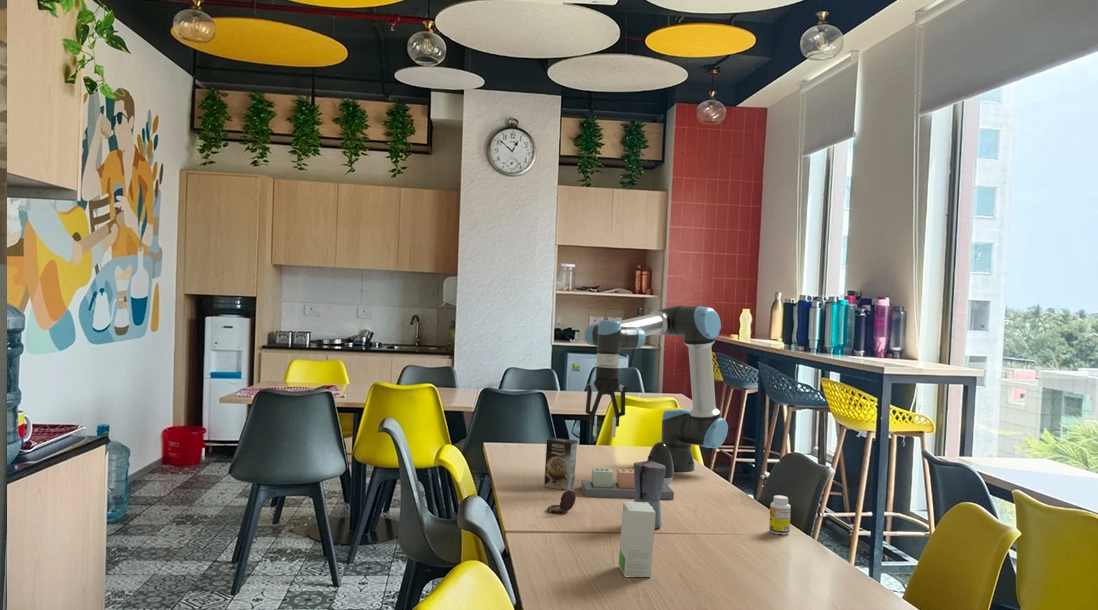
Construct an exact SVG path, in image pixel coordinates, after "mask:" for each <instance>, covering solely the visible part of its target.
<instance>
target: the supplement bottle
mask: <svg viewBox="0 0 1098 610" xmlns="http://www.w3.org/2000/svg"><path fill="white" fill-rule="evenodd" d="M790 525H791V504H789V498H788V496H785V495H779V494H777V495H774V496H773V500H772V502H770V507H769V526H768V527H769V529H768V530H769V533H771V532H772V534H773V533H775V534H774V535H777V534H782V535H781V536H787V535H789V534H790V528H791V526H790ZM786 534H787V535H786Z"/></svg>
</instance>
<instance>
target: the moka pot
mask: <svg viewBox="0 0 1098 610" xmlns="http://www.w3.org/2000/svg"><path fill="white" fill-rule="evenodd" d="M647 459H648V461H647V460H645V461H636V462H634V463H633V469H634V484H635V497H636V498H634V500H633V502H648V503H649V504H650V506H652V507H653V510H654V511H655V512H656V516H655V529H660V528H661V527H662V515H661V514H662V513H661V499H660V494H661V493H662V488H663V482H664V477H665V472H666V467H665V466H664V465H662V464H659V463H656V462H653V461H652V460H653V456H652V455H649V454H648V455H647ZM655 529H654V530H655Z"/></svg>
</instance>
